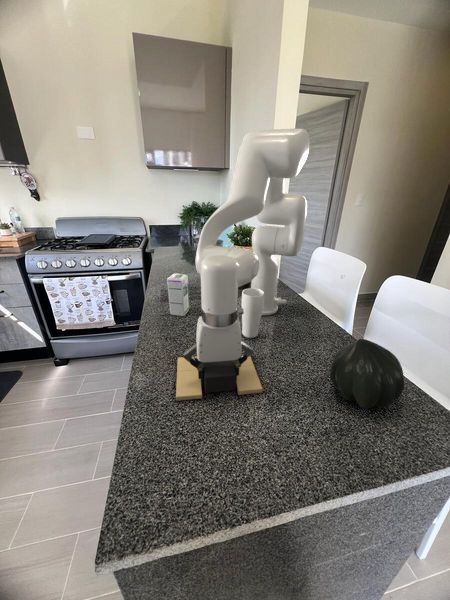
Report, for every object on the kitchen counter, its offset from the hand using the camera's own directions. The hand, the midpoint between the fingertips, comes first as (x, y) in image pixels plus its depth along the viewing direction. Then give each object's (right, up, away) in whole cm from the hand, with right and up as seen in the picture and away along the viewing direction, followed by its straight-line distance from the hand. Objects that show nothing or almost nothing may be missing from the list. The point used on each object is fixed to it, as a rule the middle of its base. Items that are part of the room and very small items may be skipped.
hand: (218, 378), depth 61 cm
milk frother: (-7, +40, +90) cm, 99 cm away
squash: (+34, -3, -1) cm, 34 cm away
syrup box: (-16, +14, +34) cm, 40 cm away
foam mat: (0, 0, +3) cm, 3 cm away
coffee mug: (+12, +25, +59) cm, 65 cm away
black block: (0, -1, 0) cm, 1 cm away
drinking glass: (+10, +8, +21) cm, 24 cm away
